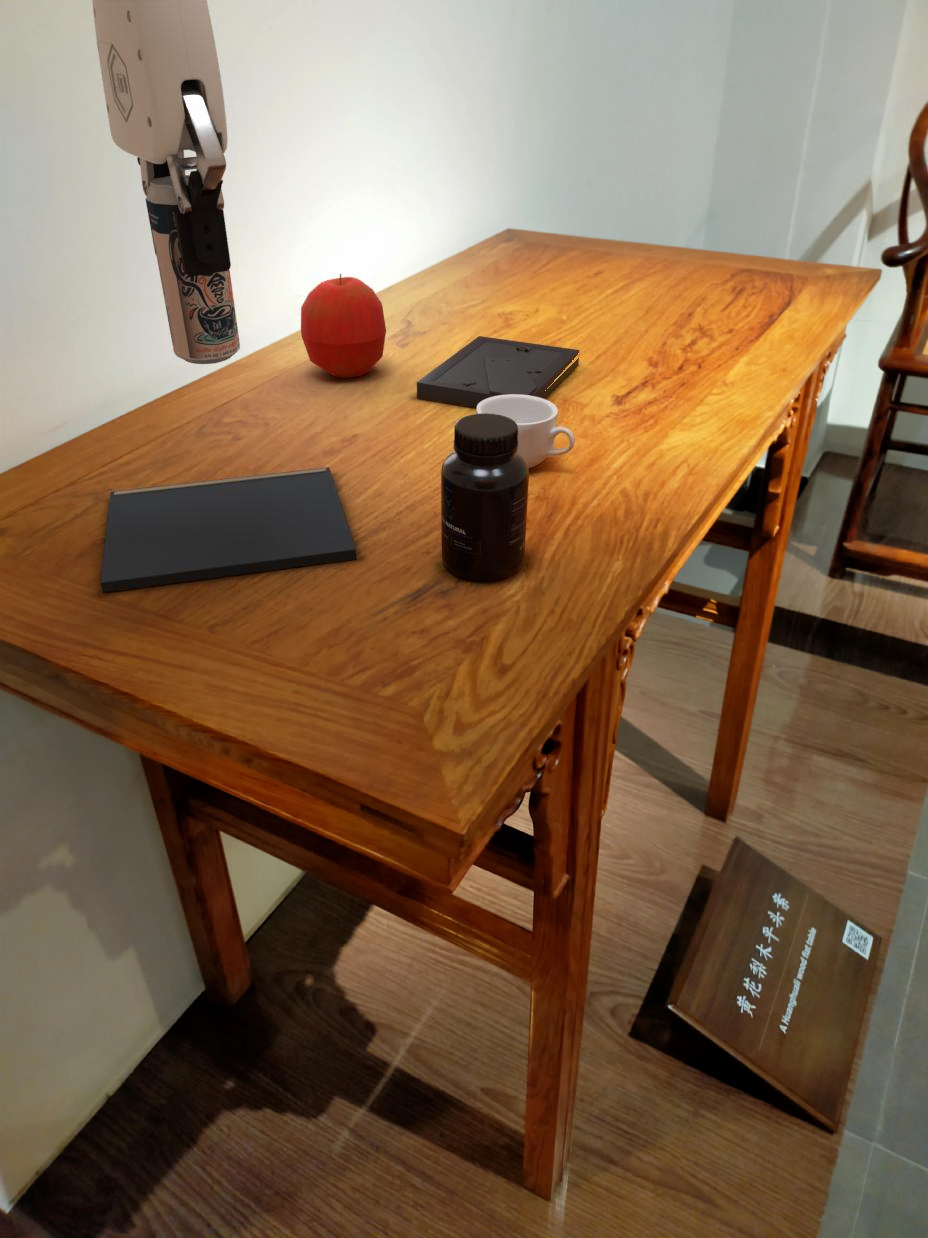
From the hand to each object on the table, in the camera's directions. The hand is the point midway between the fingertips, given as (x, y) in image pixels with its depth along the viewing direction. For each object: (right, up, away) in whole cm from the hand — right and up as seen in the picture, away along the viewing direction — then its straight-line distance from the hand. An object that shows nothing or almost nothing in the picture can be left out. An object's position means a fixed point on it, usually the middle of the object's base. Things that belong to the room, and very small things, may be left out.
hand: (192, 260), depth 66 cm
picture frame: (+23, +3, +45) cm, 51 cm away
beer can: (0, -6, +4) cm, 7 cm away
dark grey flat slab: (-2, -17, +16) cm, 23 cm away
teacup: (+25, -10, +27) cm, 38 cm away
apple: (+5, +5, +48) cm, 48 cm away
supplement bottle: (+21, -21, +11) cm, 31 cm away
